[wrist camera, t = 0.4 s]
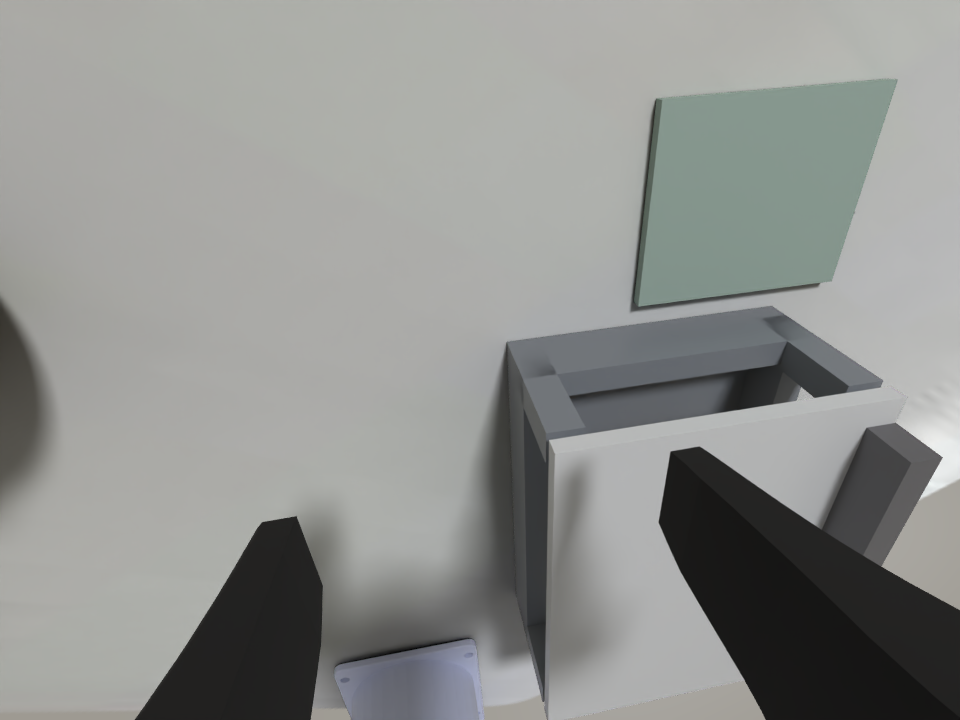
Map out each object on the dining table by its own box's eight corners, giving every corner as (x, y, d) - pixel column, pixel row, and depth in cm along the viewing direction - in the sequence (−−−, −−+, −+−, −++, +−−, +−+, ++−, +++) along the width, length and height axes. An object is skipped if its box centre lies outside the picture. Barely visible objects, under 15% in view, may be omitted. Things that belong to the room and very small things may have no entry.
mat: (823, 277, 21) (831, 281, 20) (633, 302, 20) (638, 306, 19) (887, 78, 17) (898, 79, 17) (656, 98, 16) (662, 99, 16)
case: (703, 558, 29) (764, 654, 25) (515, 593, 28) (542, 701, 24) (772, 306, 21) (883, 380, 16) (507, 341, 20) (546, 433, 15)
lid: (768, 660, 25) (800, 710, 23) (544, 709, 23) (558, 765, 22) (891, 385, 16) (957, 430, 14) (548, 440, 15) (572, 496, 13)
